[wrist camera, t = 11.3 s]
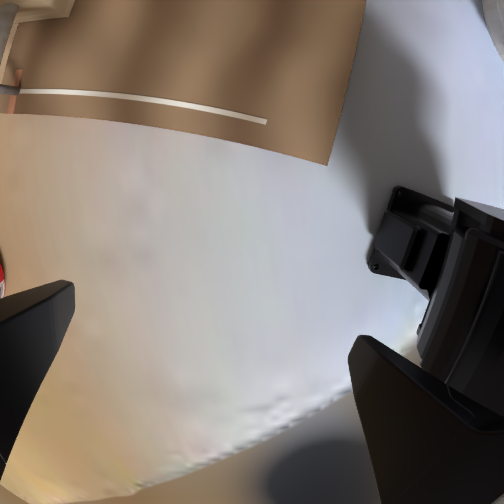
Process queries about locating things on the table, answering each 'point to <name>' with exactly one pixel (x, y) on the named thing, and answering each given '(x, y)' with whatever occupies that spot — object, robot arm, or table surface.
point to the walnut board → (195, 68)
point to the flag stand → (495, 23)
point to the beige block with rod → (22, 10)
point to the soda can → (2, 282)
